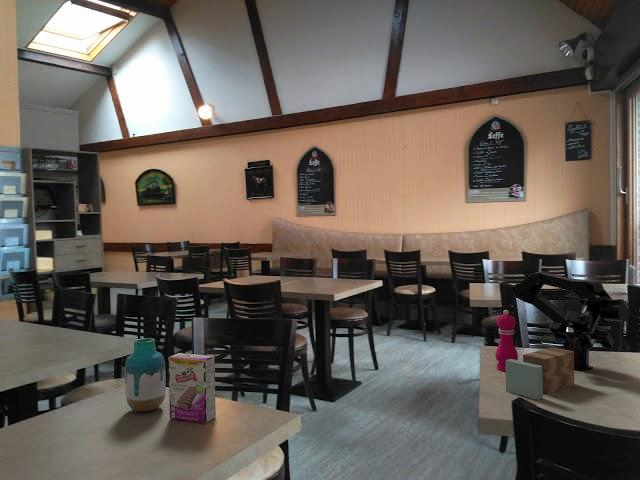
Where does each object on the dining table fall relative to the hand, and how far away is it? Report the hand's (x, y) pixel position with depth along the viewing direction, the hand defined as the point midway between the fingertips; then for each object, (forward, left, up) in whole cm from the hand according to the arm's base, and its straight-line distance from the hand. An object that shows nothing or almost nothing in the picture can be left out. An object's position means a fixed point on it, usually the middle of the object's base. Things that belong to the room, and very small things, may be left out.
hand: (570, 356), depth 161 cm
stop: (+25, +4, -7) cm, 26 cm away
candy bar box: (+113, -22, -7) cm, 115 cm away
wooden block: (+12, +2, -7) cm, 14 cm away
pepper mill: (+10, -17, -7) cm, 21 cm away
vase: (+123, -35, -7) cm, 128 cm away
